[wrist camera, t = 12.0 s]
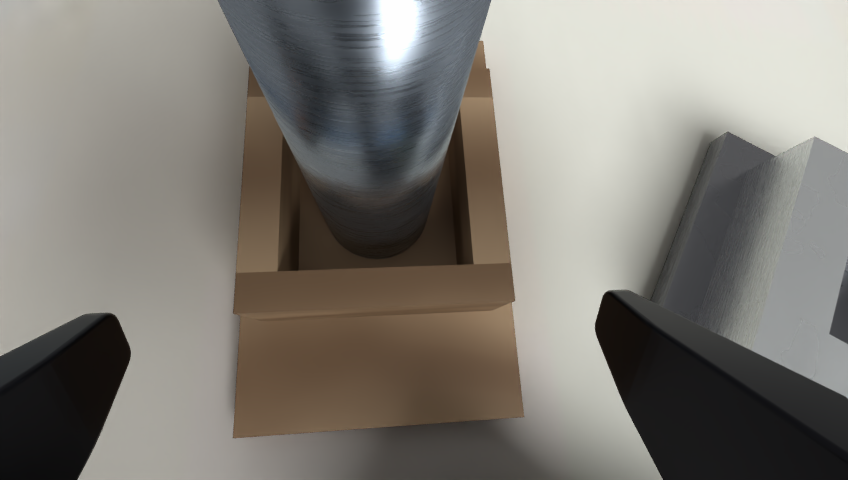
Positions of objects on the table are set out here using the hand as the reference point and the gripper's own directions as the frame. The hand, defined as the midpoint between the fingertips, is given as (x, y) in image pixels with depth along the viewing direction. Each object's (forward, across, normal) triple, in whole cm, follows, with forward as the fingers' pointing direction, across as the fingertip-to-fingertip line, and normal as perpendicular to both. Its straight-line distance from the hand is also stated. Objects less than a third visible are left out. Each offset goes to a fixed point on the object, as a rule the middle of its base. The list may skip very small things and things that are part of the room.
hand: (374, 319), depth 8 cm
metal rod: (+9, 0, +2) cm, 9 cm away
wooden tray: (+10, 0, +2) cm, 10 cm away
